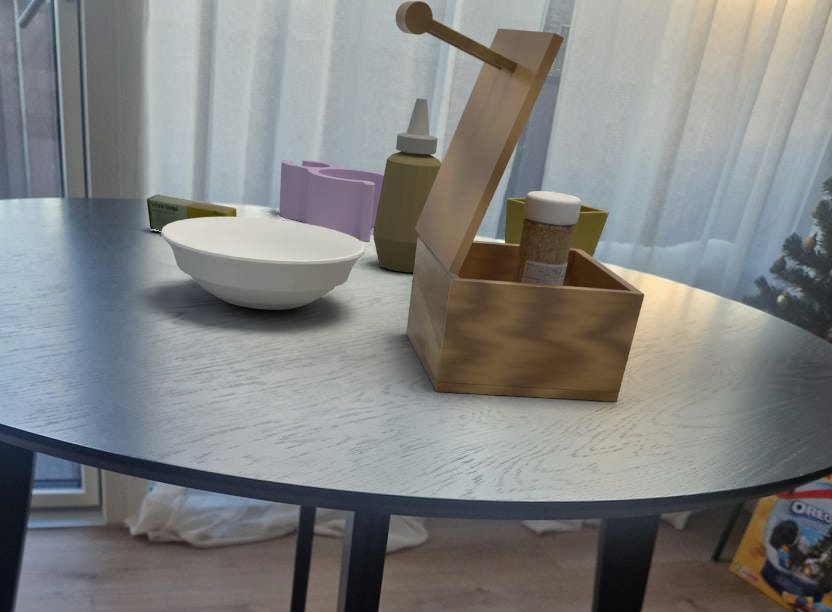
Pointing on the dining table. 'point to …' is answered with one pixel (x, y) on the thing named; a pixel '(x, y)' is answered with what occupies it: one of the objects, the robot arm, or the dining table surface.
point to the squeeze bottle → (405, 192)
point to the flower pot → (583, 233)
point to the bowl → (262, 259)
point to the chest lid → (479, 127)
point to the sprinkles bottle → (546, 237)
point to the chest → (521, 326)
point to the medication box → (182, 210)
